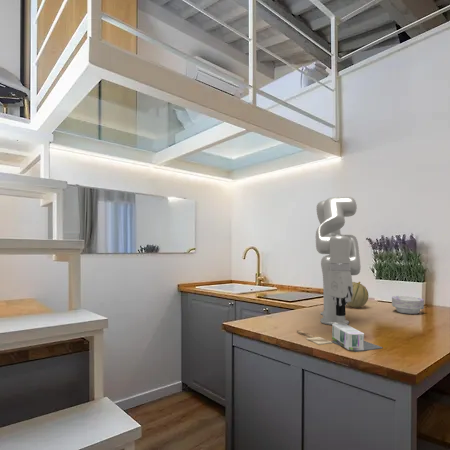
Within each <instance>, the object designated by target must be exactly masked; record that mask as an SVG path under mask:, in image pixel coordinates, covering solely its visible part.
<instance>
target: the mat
mask: <svg viewBox="0 0 450 450" xmlns="http://www.w3.org/2000/svg"><path fill="white" fill-rule="evenodd" d="M330 341H331V342H332V343H331V344H334V345H337V346H339V347H342V348H345V347H343V346H342V345H340V344H339V343H338V342H336V341H335V340H330ZM345 349H346V348H345ZM381 349H383V347H382V346H379V345H377V344H374V343H372V342H368V341H366V340H364V350H351V351H352V352H355V353H359V352H366V351H372V350H373V351H374V350H381Z"/></svg>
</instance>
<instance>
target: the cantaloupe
mask: <svg viewBox="0 0 450 450" xmlns="http://www.w3.org/2000/svg"><path fill="white" fill-rule="evenodd" d="M352 284H353V296H352V297H351V302H347V305H346V306H349V307H351V308H354V309H355V308H362V307H364V306H365V305H366V304H367V302H368V301H369V291H368V288H366V286H365V285H363V284H362V283H361V281H358V282H355V281H352Z"/></svg>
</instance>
